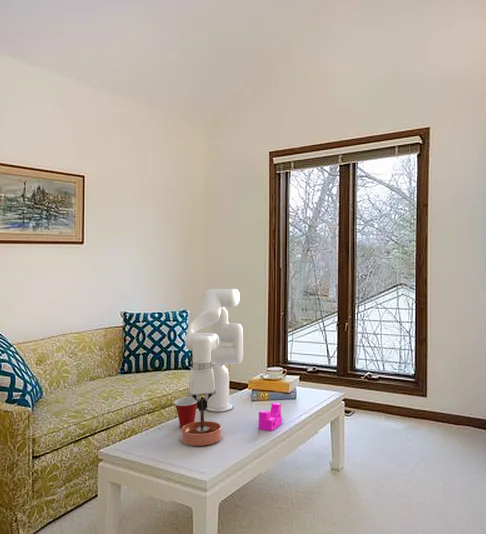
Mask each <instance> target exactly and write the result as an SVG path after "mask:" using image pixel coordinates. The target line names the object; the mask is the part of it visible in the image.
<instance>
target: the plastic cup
mask: <svg viewBox="0 0 486 534" xmlns="http://www.w3.org/2000/svg"><path fill="white" fill-rule="evenodd" d="M173 404H174V405H175V409H176V412H177V416H178V417H177V418H178V421H179V427H180V429H181V428H182V427H183V426H184V425H186V424H189V423H192V422H195V421H196V413H197V401H196V400H195V399H194V398H193V397H189V396H184V397H180V398H178V399H175V400H174V401H173Z"/></svg>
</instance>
